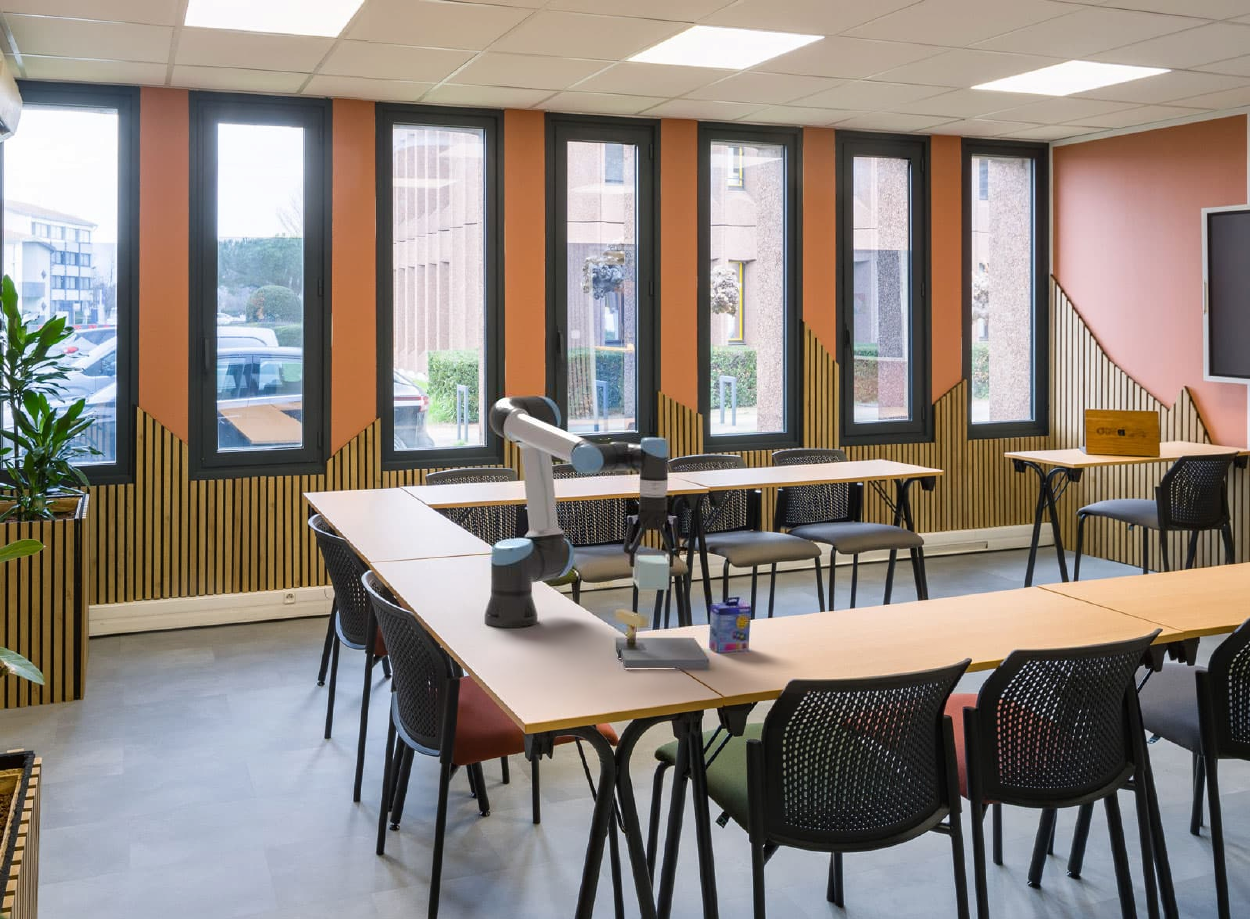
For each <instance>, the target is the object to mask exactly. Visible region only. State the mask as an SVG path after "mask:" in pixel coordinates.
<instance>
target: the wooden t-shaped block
mask: <svg viewBox="0 0 1250 919" xmlns="http://www.w3.org/2000/svg"><path fill="white" fill-rule="evenodd" d="M614 611H615V615H614V616H615V617H614V618H615V619H614V620H615V621H616V622H619V623H623V624H626V638H627V643H626V645H628V646H635V645H636V638H637V629H640V630H641V629H647V628H649V623H650V622H649V621H650V620H649V618H650V617H649V616H646V615H644V614H640V613H636V612H634V611H631V610H628V609H624V608H621V609H616V610H614Z"/></svg>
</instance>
